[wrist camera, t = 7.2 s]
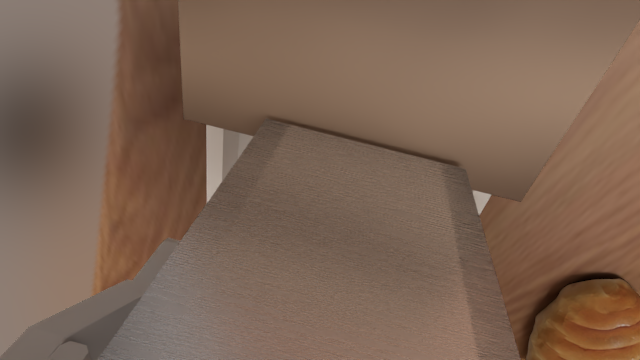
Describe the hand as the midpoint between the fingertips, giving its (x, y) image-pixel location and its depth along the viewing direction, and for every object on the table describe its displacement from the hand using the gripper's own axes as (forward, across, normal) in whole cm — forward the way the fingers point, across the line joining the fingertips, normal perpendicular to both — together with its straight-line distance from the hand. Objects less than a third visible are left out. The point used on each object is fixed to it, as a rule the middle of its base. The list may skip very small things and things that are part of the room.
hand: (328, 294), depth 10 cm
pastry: (+11, -17, +10) cm, 23 cm away
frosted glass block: (+4, 0, 0) cm, 4 cm away
